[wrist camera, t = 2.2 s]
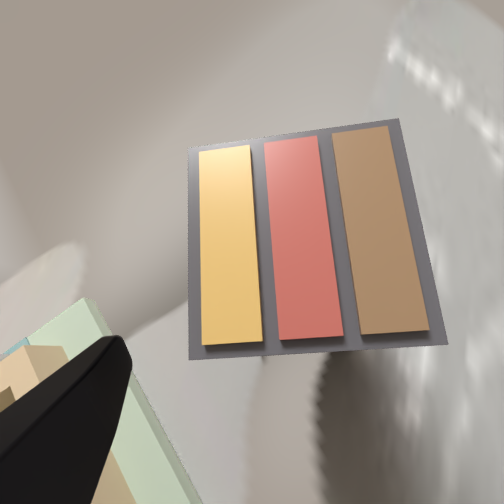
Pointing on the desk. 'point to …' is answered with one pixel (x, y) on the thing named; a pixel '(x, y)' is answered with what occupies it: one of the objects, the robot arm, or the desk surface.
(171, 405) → the desk surface
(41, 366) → the board
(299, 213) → the plug block
